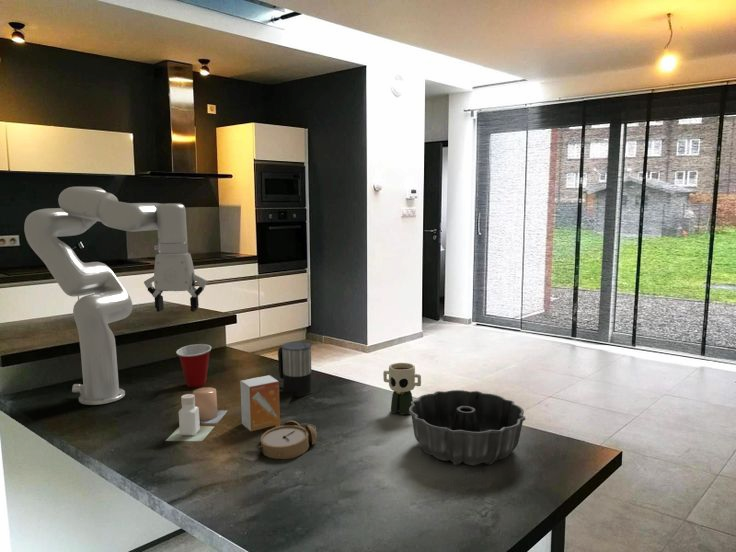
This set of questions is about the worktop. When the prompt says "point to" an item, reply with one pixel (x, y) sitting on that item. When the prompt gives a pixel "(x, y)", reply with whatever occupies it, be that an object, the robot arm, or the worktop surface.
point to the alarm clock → (288, 440)
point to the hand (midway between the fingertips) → (177, 310)
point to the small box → (260, 402)
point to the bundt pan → (466, 426)
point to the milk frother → (295, 368)
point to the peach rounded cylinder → (206, 403)
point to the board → (201, 433)
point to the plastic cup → (195, 363)
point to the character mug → (401, 385)
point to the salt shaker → (189, 416)
